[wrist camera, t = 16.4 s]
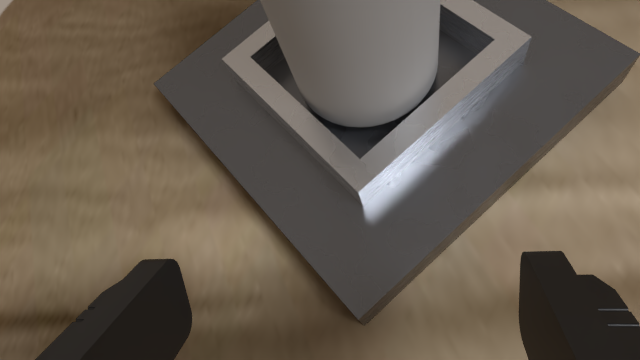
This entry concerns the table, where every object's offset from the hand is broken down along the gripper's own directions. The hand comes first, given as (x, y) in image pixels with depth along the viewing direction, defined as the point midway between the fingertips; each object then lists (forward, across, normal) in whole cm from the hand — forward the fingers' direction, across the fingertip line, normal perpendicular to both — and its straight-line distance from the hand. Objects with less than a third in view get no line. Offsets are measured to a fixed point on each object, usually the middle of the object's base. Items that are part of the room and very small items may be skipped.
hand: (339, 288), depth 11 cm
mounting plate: (+15, 0, -2) cm, 15 cm away
